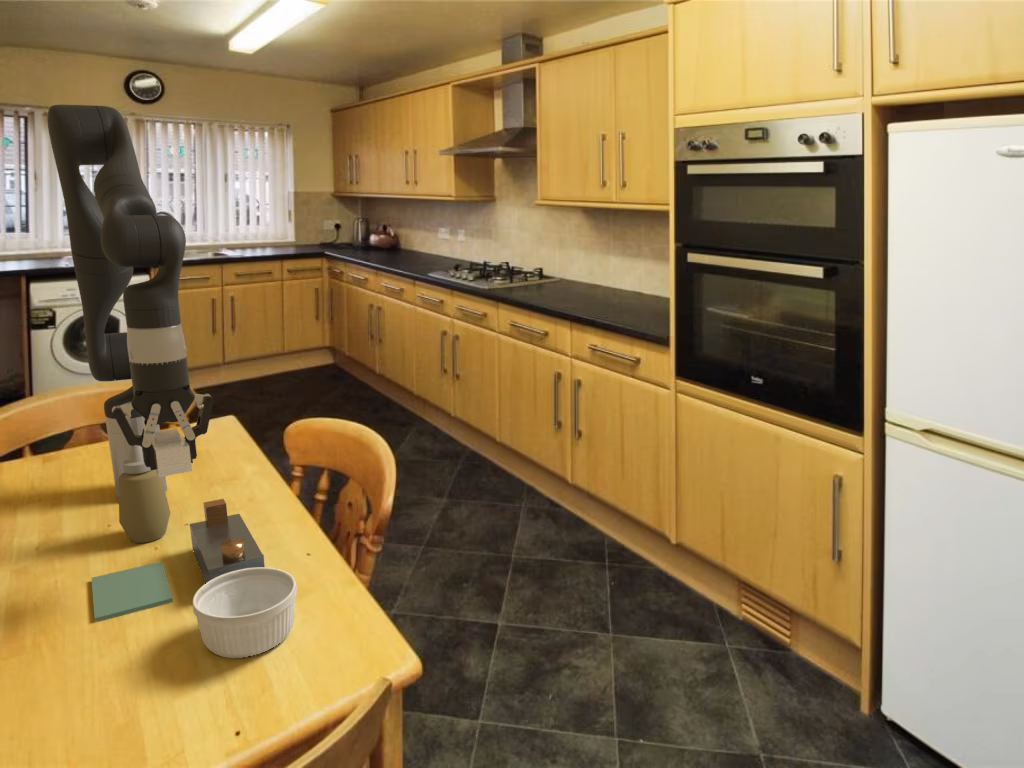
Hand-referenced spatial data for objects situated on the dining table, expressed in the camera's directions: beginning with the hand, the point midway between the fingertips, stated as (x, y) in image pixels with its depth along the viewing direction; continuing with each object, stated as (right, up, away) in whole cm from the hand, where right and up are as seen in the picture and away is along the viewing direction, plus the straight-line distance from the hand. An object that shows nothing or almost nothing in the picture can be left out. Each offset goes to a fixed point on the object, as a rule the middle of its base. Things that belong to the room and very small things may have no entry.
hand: (171, 464), depth 106 cm
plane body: (+5, -18, +8) cm, 20 cm away
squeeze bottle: (-13, -15, +18) cm, 27 cm away
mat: (-6, -19, +1) cm, 21 cm away
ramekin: (+16, -23, -10) cm, 29 cm away
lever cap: (0, 0, 0) cm, 0 cm away
